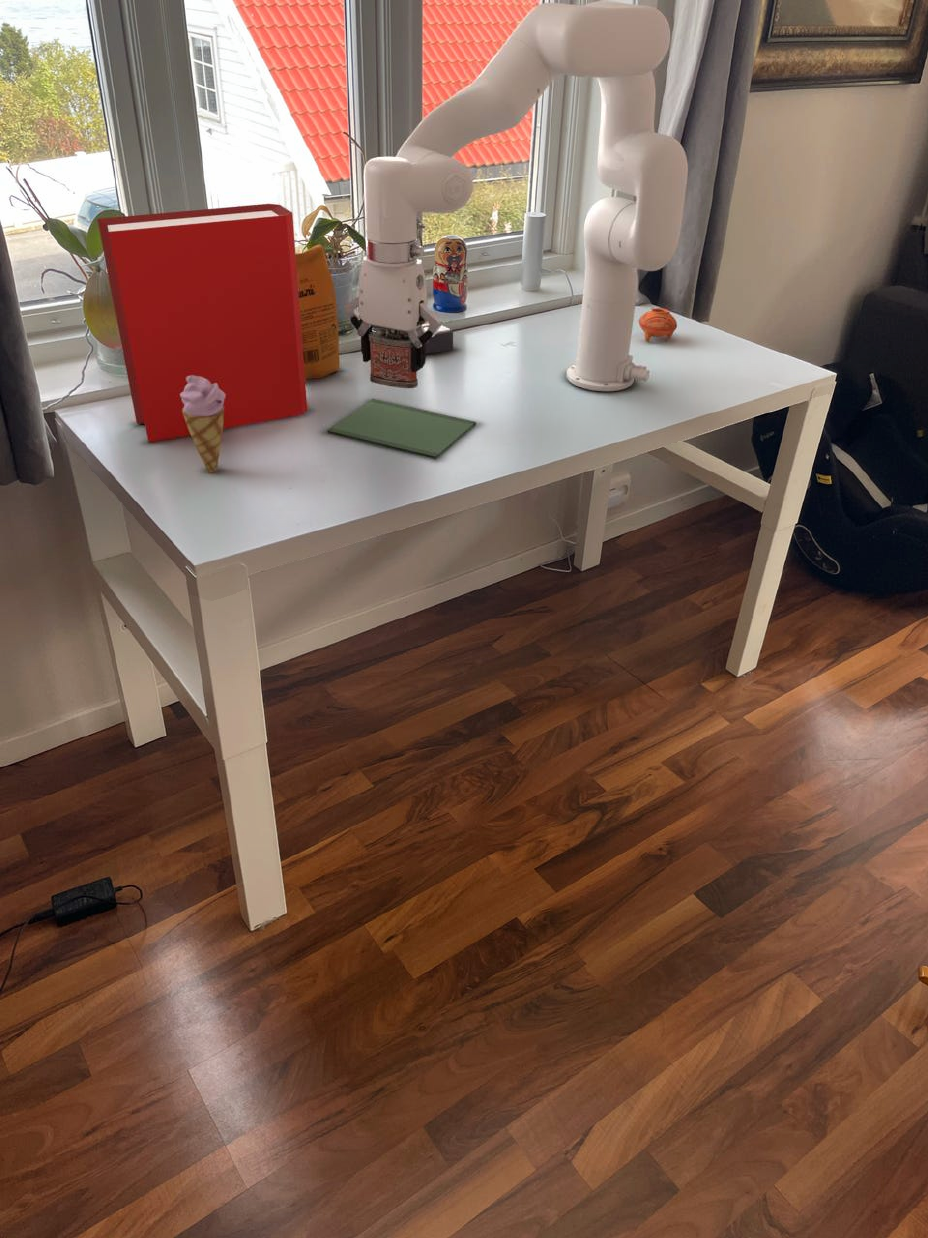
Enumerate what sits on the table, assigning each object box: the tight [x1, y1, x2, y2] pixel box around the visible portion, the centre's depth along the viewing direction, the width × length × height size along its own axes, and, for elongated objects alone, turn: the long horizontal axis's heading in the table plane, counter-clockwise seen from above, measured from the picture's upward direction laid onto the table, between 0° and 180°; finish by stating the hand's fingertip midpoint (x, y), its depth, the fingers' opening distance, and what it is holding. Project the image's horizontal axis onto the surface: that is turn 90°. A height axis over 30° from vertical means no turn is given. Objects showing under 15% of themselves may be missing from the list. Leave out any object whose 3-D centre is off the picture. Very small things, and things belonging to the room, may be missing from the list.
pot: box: [638, 307, 678, 343], centre depth 193 cm, size 8×8×7 cm
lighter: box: [369, 325, 419, 389], centre depth 148 cm, size 8×3×10 cm, turn 71°
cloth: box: [326, 398, 477, 460], centre depth 156 cm, size 20×15×1 cm
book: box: [97, 203, 308, 444], centre depth 148 cm, size 27×8×32 cm, turn 118°
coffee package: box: [295, 244, 341, 380], centre depth 169 cm, size 10×12×22 cm
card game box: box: [372, 322, 454, 355], centre depth 188 cm, size 11×4×15 cm
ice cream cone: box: [180, 375, 226, 474], centre depth 138 cm, size 7×6×15 cm
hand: (393, 363), depth 149 cm, fingers closed on lighter, 8 cm apart
